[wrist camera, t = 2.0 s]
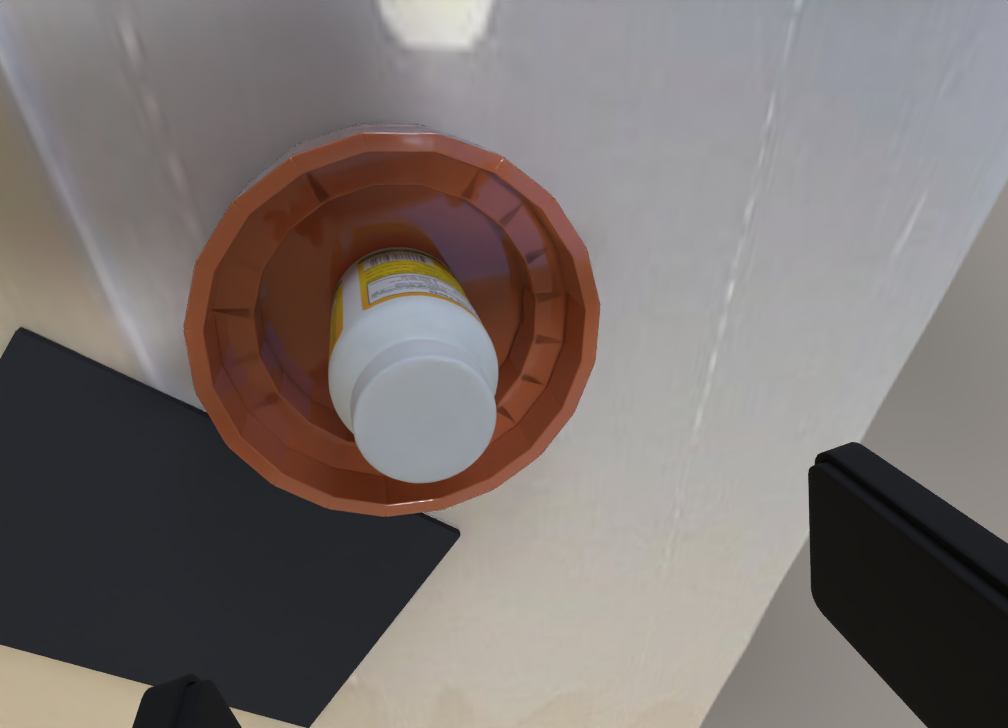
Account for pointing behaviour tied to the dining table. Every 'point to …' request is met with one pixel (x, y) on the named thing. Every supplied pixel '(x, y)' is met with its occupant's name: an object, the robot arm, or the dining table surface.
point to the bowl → (322, 262)
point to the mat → (181, 545)
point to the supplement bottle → (411, 366)
